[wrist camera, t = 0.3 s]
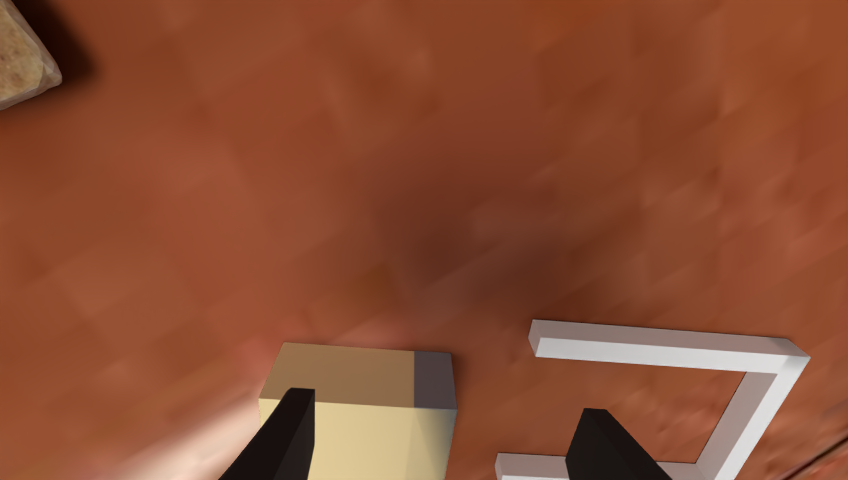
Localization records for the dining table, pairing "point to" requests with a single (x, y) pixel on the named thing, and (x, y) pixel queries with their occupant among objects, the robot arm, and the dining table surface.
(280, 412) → the robot arm
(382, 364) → the block
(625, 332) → the end holder
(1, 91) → the stone cup
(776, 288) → the dining table surface
